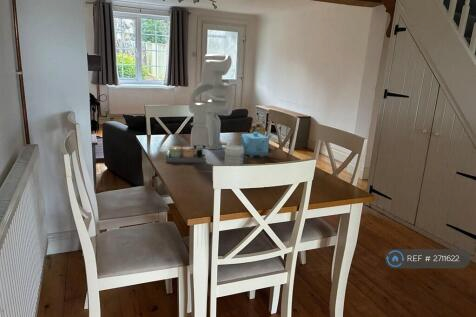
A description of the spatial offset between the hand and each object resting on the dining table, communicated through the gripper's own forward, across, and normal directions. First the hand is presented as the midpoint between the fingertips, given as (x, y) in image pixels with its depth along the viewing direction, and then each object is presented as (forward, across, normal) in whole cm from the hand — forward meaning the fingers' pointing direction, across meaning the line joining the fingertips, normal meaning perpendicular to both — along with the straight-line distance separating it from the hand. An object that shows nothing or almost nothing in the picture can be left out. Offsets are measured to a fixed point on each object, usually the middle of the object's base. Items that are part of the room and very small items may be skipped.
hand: (199, 156), depth 204 cm
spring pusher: (+2, -17, 0) cm, 18 cm away
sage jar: (+2, -14, 0) cm, 14 cm away
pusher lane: (+3, -8, 0) cm, 8 cm away
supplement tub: (+3, +16, -25) cm, 30 cm away
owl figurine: (+3, +42, +38) cm, 57 cm away
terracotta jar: (+2, -6, 0) cm, 7 cm away
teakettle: (+3, +36, +12) cm, 38 cm away
